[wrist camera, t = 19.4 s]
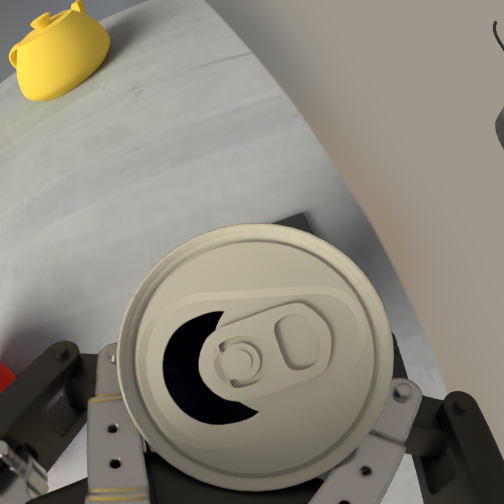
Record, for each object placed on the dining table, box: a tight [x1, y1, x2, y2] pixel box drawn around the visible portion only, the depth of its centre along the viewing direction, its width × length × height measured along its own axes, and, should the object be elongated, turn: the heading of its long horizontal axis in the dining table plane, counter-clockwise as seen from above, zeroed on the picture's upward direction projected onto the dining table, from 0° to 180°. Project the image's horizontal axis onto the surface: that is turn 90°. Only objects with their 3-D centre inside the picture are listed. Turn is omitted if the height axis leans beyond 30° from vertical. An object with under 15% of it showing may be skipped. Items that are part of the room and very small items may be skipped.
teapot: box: [9, 0, 110, 101], centre depth 31 cm, size 20×19×13 cm
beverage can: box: [117, 223, 394, 491], centre depth 11 cm, size 6×6×12 cm
